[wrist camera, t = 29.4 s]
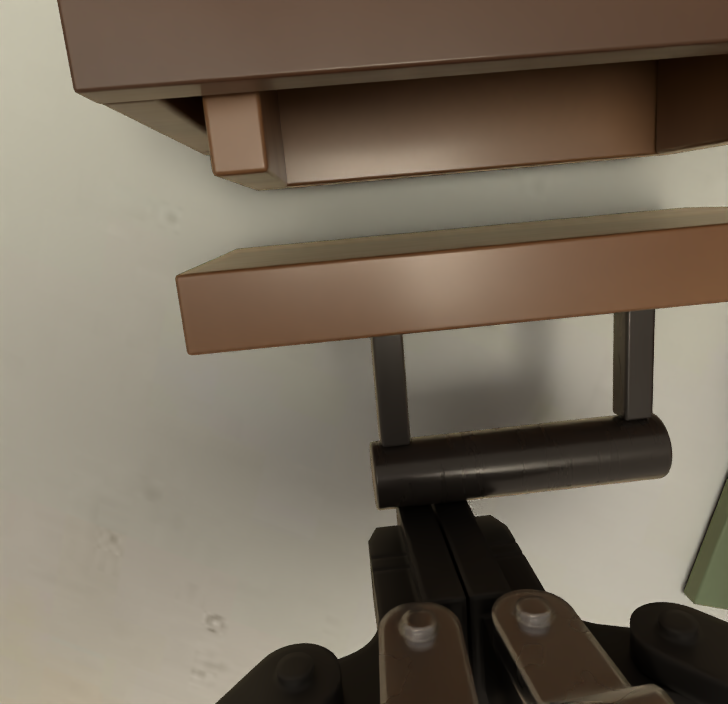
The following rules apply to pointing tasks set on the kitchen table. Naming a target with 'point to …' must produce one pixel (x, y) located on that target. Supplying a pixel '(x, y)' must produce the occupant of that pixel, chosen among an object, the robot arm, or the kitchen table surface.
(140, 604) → the kitchen table surface
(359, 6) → the cabinet
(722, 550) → the board
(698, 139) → the drawer
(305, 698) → the robot arm
